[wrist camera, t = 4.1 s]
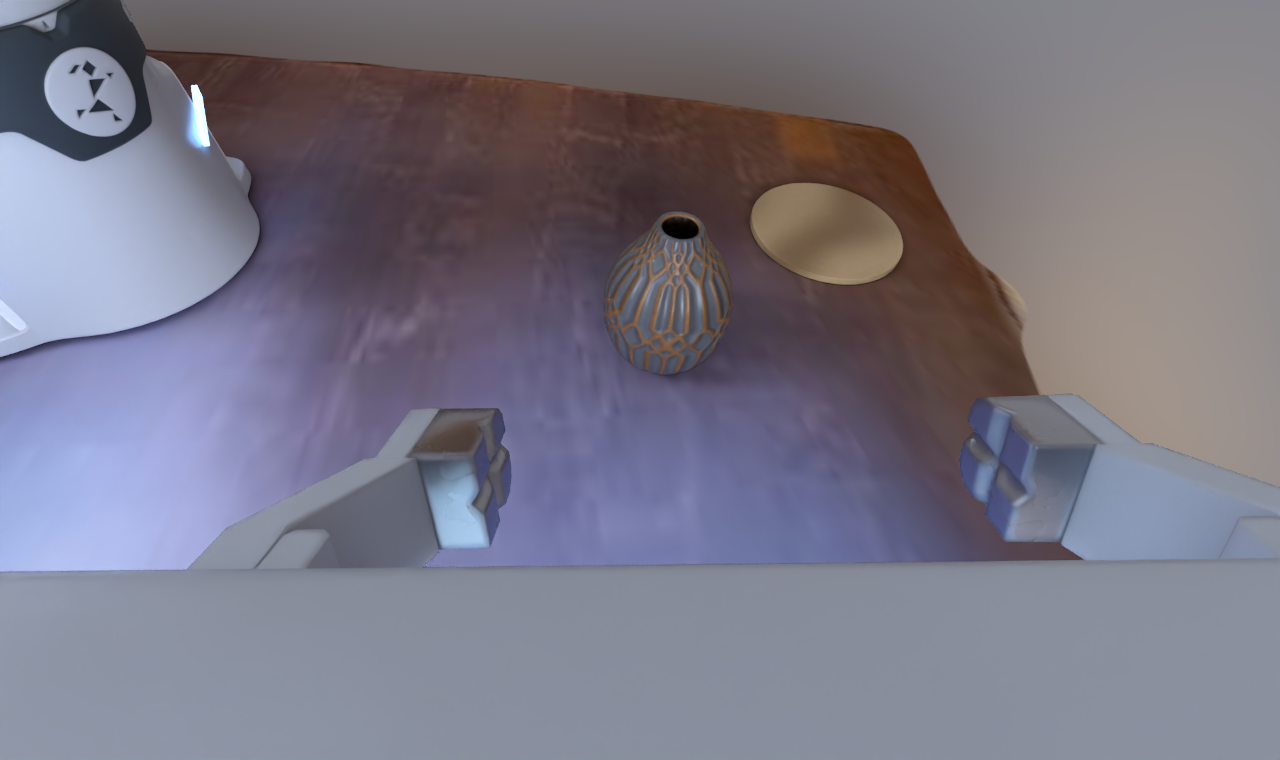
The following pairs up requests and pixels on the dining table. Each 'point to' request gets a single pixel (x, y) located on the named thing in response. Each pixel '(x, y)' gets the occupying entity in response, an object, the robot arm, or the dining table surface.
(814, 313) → the dining table surface
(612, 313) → the vase
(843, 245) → the cork trivet
